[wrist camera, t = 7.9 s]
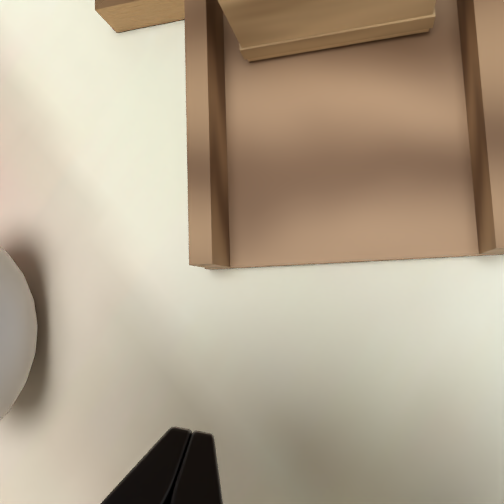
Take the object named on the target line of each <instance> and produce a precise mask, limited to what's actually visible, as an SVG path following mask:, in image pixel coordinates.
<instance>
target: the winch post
mask: <svg viewBox="0 0 504 504" xmlns="http://www.w3.org/2000/svg"><path fill="white" fill-rule="evenodd" d="M95 10H96V11H97V12H98V13H99V14H100V16H101V17H102V18H103V19H104V20H105V21H106V22H107V23H108V24H109V25H110V26H111V27H112V28H113V29H114V30H115V31H116V32H117V33H118V32H123V31H128V30H133V29H138V28H143V27H148V26H153V25H158V24H163V23H168V22H173V21H178V20H183V19H185V8H184V0H95Z"/></svg>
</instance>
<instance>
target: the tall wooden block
mask: <svg viewBox="0 0 504 504" xmlns="http://www.w3.org/2000/svg"><path fill="white" fill-rule="evenodd" d="M218 2H219V4H220V6H221V8H222V10H223V12H224V14H225V16H226V18H227V20H228V22H229V24H230V26H231V28H232V30H233V32H234V34H235V36H236V38H237V40H238V42H239V46H240V52H241V54H242V56H243V58H244V60H246V59H247V60H248V62H250V61H256V60H262V59H268V58H274V57H280V56H285V55H291V54H297V53H303V52H309V51H315V50H321V49H327V48H333V47H339V46H345V45H351V44H357V43H363V42H369V41H375V40H381V39H387V38H393V37H399V36H405V35H411V34H417V33H423V32H429V28H433V25H434V21H435V3H436V0H218Z"/></svg>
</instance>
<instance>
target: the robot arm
mask: <svg viewBox="0 0 504 504" xmlns="http://www.w3.org/2000/svg"><path fill="white" fill-rule="evenodd" d="M101 504H223V501H222V494H221V486H220V479H219V471H218V464H217V457H216V449H215V442H214V436H213V435H212V434H211V433H206V432H201V431H194V432H193V433H192V431H191V430H189V429H185V428H180V427H171V428H170V429H169V430H168V431H167V432H166V433H165V434H164V435H163V436H162V437H161V438H160V440H159V441H158V442H157V443H156V444H155V445H154V446H153V447H152V448H151V449H150V450H149V452H148V453H147V454H146V455H145V456H144V457H143V458H142V459H141V460H140V461H139V462H138V464H137V465H136V466H135V467H134V468H133V469H132V470H131V471H130V472H129V473H128V474H127V475H126V477H125V478H124V479H123V480H122V481H121V482H120V483H119V484H118V485H117V486H116V487H115V489H114V490H113V491H112V492H111V493H110V494H109V495H108V496H107V497H106V498H105V499H104V501H103V502H102V503H101Z"/></svg>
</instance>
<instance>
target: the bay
mask: <svg viewBox="0 0 504 504" xmlns="http://www.w3.org/2000/svg"><path fill="white" fill-rule="evenodd" d="M184 8H185V62H186V115H187V169H188V222H189V265H193V266H198V267H204V268H205V269H228V268H247V267H266V266H286V265H305V264H325V263H344V262H363V261H383V260H402V259H421V258H441V257H460V256H479V255H499V254H504V0H436V3H435V21H434V25H433V28H429V32H423V33H417V34H411V35H405V36H399V37H393V38H387V39H381V40H375V41H369V42H363V43H357V44H351V45H345V46H339V47H333V48H327V49H321V50H315V51H309V52H303V53H297V54H291V55H285V56H280V57H274V58H268V59H262V60H256V61H250V62H248V60H247V59H246V60H244V58H243V56H242V54H241V52H240V46H239V42H238V40H237V38H236V36H235V34H234V32H233V30H232V28H231V26H230V24H229V22H228V20H227V18H226V16H225V14H224V12H223V10H222V8H221V6H220V4H219V2H218V0H184Z"/></svg>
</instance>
